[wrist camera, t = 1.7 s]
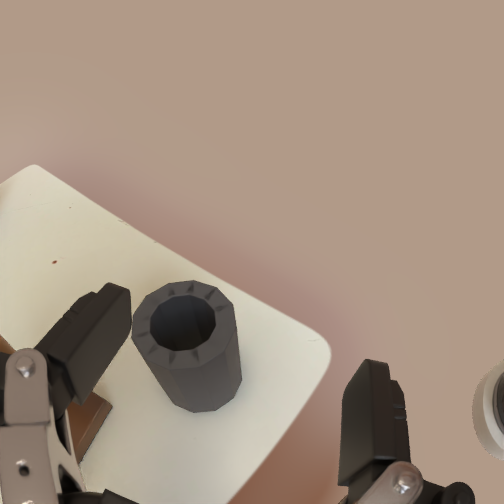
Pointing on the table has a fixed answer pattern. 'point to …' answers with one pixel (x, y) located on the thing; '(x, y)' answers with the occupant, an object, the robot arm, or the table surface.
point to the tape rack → (79, 415)
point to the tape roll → (190, 344)
